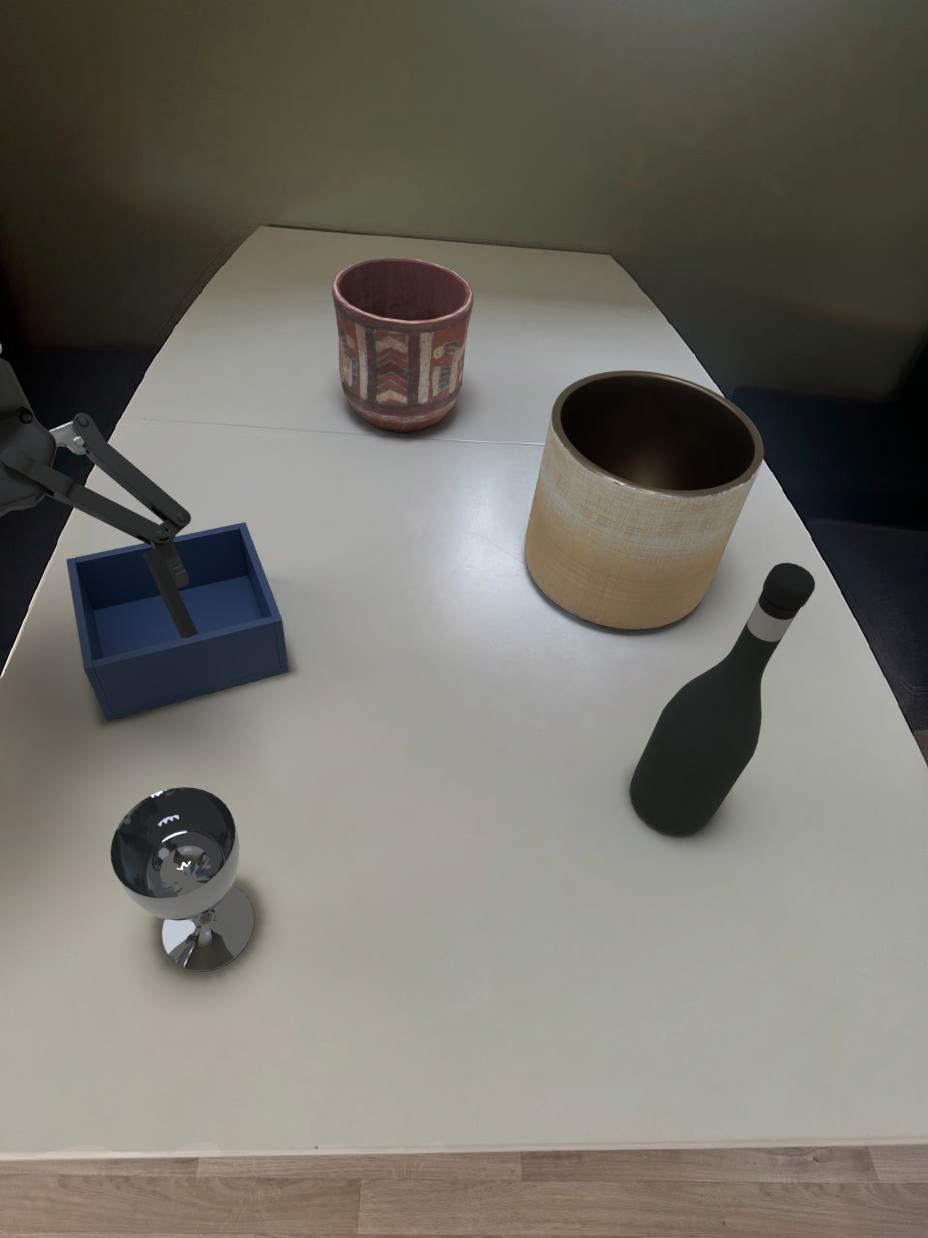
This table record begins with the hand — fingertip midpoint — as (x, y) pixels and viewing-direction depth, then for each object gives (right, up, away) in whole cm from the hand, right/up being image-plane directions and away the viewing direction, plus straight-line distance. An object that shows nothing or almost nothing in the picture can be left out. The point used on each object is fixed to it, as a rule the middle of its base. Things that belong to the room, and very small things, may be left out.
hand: (94, 678), depth 54 cm
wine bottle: (+44, -13, +22) cm, 51 cm away
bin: (-4, +2, +29) cm, 29 cm away
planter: (+43, +10, +42) cm, 61 cm away
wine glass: (+5, -21, +10) cm, 24 cm away
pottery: (+16, +34, +60) cm, 71 cm away
